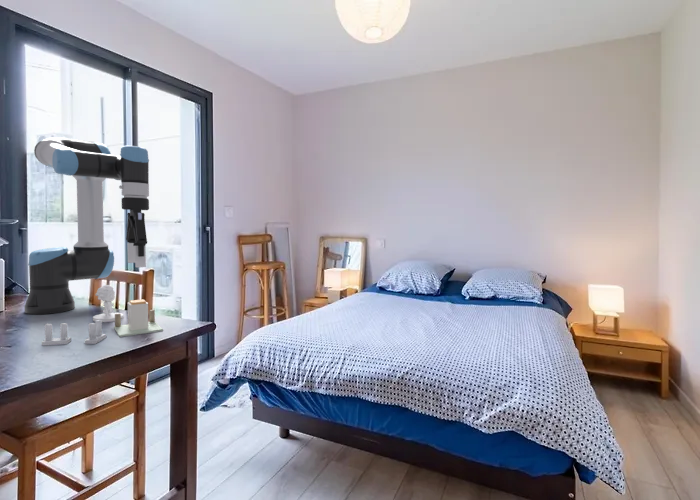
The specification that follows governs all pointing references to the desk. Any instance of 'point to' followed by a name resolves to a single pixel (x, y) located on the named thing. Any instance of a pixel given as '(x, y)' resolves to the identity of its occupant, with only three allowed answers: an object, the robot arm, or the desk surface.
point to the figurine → (106, 304)
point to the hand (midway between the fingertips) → (136, 265)
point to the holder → (125, 331)
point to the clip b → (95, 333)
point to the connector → (137, 314)
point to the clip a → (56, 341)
